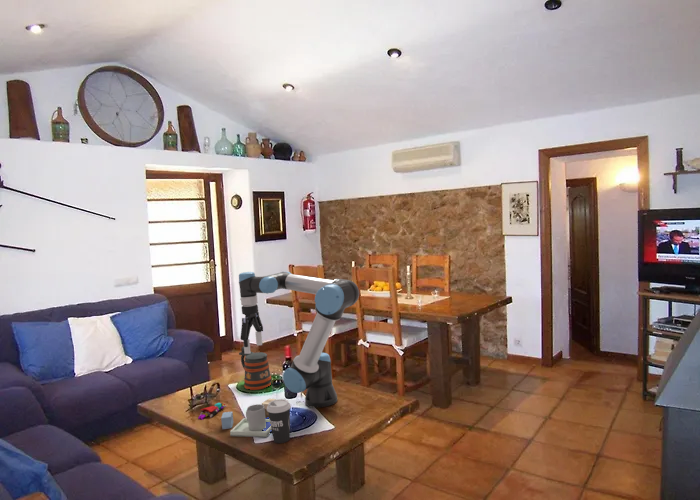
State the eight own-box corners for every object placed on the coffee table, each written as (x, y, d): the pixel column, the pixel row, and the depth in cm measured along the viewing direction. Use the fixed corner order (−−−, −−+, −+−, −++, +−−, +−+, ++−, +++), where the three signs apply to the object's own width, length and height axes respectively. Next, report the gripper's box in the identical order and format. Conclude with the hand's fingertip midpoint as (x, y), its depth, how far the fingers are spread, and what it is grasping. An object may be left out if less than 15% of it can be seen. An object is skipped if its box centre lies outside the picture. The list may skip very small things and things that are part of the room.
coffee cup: (270, 435, 202) (267, 399, 201) (294, 432, 203) (290, 397, 202) (268, 446, 193) (265, 409, 192) (293, 443, 194) (290, 406, 192)
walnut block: (272, 415, 223) (271, 404, 223) (271, 419, 218) (270, 408, 218) (261, 416, 223) (260, 405, 223) (259, 420, 218) (258, 409, 218)
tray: (278, 423, 214) (278, 418, 213) (266, 437, 201) (266, 432, 201) (244, 422, 217) (243, 418, 217) (230, 436, 205) (230, 431, 205)
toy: (206, 421, 223) (230, 408, 235) (205, 413, 222) (229, 400, 235) (194, 419, 226) (218, 406, 239) (193, 410, 226) (217, 398, 239)
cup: (256, 433, 204) (254, 412, 203) (241, 428, 210) (239, 407, 209) (269, 426, 209) (267, 406, 209) (254, 421, 216) (252, 402, 215)
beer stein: (232, 387, 264) (228, 350, 262) (251, 378, 276) (248, 343, 275) (259, 392, 254) (255, 353, 252) (277, 382, 266) (274, 346, 264)
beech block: (269, 406, 234) (269, 398, 233) (277, 407, 232) (276, 399, 231) (262, 411, 228) (261, 403, 228) (269, 412, 226) (268, 404, 226)
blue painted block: (233, 422, 219) (232, 411, 218) (231, 428, 213) (230, 416, 212) (224, 423, 218) (223, 412, 218) (222, 429, 212) (221, 418, 212)
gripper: (253, 300, 247) (257, 342, 248) (229, 310, 223) (234, 357, 224) (267, 299, 245) (271, 341, 247) (245, 310, 221) (249, 357, 223)
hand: (253, 349), depth 236 cm, fingers open, 13 cm apart
